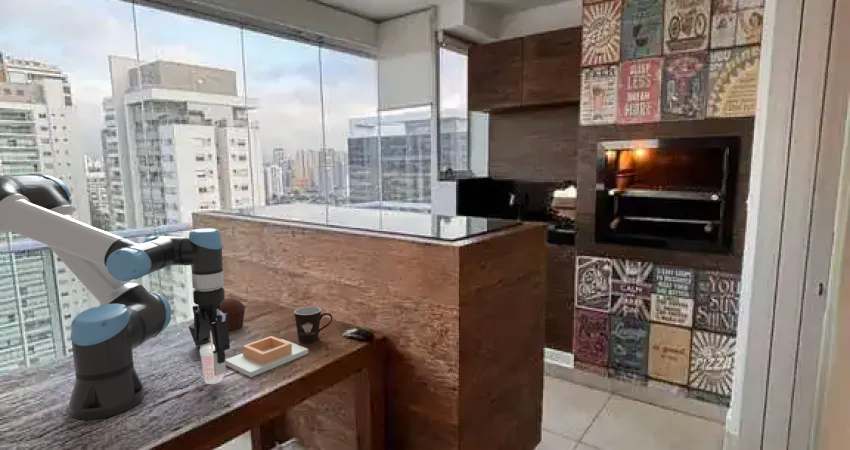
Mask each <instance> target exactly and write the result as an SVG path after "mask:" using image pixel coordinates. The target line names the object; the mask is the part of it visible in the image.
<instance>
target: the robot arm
mask: <svg viewBox="0 0 850 450" xmlns="http://www.w3.org/2000/svg"><path fill="white" fill-rule="evenodd" d="M71 196H72V194H71V191H70V189H69V188H68V186H67V185H66V184H65V183H64V182H63V181H62V180H60V179H59V178H56V177H54V176H51V175H48V174H47V175H46V174H40V173H39V174H37V173H30V174H25V175H0V233H2V234H3V233H4V234H5V233H6V234H7V233H15V234H17V235H20V236H22V237H25V238H28V239H31V240H33V241H36V242H38V243H41V244H44V245H47V246H48V247H49V248H50V250H52V251H53V253H54V254H55V255H56V257H58V258H59V260H61V261H62V263H63V264H64V265H65V266H66V267H67V268H68V269H69V270H70V271H71V273H72V274H73V275H74V276H75V277H76V278H77V279H78V280H79V281H80V282H81V284H82V285H83V287H85V288H86V289H87V291H89V293H90V294H91V295H92V296H93V297H94V298H95V299H96V300H97V301H98V302H99V304H100V305H98V306H95V307H94V306H93V307H90V308H88V309H86V310H83V311H82V312H80V313H78V314H77V315H76V316H75V317H74V318H73V319H72V321H71V324H70V326H71V327H70V331H71V332H70V341H71V345H72V356H73V365H74V373H75V382H74V386H73V389H72V392H71V396H70V398H69V404H68V407H69V408H68V409H69V414H70V416H72V417H73V418H74V419H77V420H99V419H104V418H108V417H112V416H116V415H118V414H119V415H120V414H121V413H123V412H126V411H128V410H131V409H132V408H134V407H135V406H137V405H139V404H140V403H141V402H142V401H143V399H144V398H145V387H144V384H143V382H142V380H141V378H140V376H139V375H138V373H137V370H136V369H135V365H134V354H133V353H134V352H133V350H134V349H136V348H138V347H139V346H141V345H143V344H144V343H146V342H148V341H149V340H151V339H154V338H156V337H157V336H158V335H160V334H161V333H162V332H163V331H164V330H165V329H166V328H167V327H168V326H169V324H170V322H171V320H172V314H173V313H172V306H171V304H170V302H169V300H168V299H167V297H165V296H164V295H163V294H162V293H160V292H154V291H150V292H149V290H147V289H146V288H145V287H144V285H143V284H141V283H133V282H131V281H133V280H134V281H135V280H138V279H141V278H143V277H145V276H147V275H149V274H150V275H151V274H152V273H155V272H157V271H160V270H163V269H165V268H168V267H171V266H190V268H191V284H192V286H191V287H192V288H193V290H192V296H193V297H192V298H193V301H192V302H193V303H194V304H195V305H193V306H192V312H193V323H194V338H195V340H196V341H197V340H198V344H199V345H200V348H199V350H200V349H201V348H203V347H205V346H208V345H211V343H210V342H209V341H211V339H210V338H209V336H210V329H211V333H212V338H213V343H214V347H215V351H213V356H214V373H215V375H216V376H217V375H220V374H222V373H223V374H225V373H226V365H225V359H226V351H227V350H229V349H230V348H231V345H230V344H231V343H230V335H229V334H230V333H229V332H230V331H228V313H222V312H221V311H222V310H221V306H220V303H221V302H222V301H224V299H226V297H225V295H226V294H225V287H224V285H225V284H224V282H225V281H224V275H225V273H224V267H223V246H224V245H223V244H222V243H223V241H222V235H221V234H222V233H221V232H220V230H219V229H217V228H206V227H205V228H196V229H192V230H190V232H189V234H188V236H173V235H172V236H169V235H166V236H165V235H156V236H153V235H152V236H148V237H146V238H145V240H143V242H142V243H136V242H134V241H131V240H129V239H125V238H124V237H122V236H119V235H115V234H112V233H111V232H108V231H105V230H102V229H100V228H97V227H94V226H91V225H89V224H87V223H84V222H81V221H80V220H76V218H74V216H73V215H74V207H73V205H72V198H71ZM215 322H216V323H215ZM198 334H199V335H198ZM207 342H209V343H207ZM200 368H201V369H202V370H203V365H202V358H201V357H200Z"/></svg>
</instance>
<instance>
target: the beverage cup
mask: <svg viewBox="0 0 850 450" xmlns="http://www.w3.org/2000/svg"><path fill="white" fill-rule="evenodd" d="M210 337H211V345H208V346H205V347H203V348H201V349H200V348H199V355H200V359H201V358H202V365H203V369H202V371H203V379H204V384H206V385H215V384H218V383H220V382H222V381H223V380H224V373H222V374H220V375H217V376H216V375H215V373H214V356H213V351H215V347H214V344H213V338H212V333H211V331H210Z"/></svg>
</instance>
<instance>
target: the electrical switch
mask: <svg viewBox="0 0 850 450" xmlns="http://www.w3.org/2000/svg"><path fill="white" fill-rule="evenodd" d="M188 329H189V332H190V335H191V336H192V339H193V342H194V344H195V347H196V348H199V349H200V345H199V344H198V340H197V341H196V340H195V338H194V322H193V323H192V324H191V325H188ZM210 331H211V329H210ZM198 335H199V334H198ZM209 338H210V339H211V337H210V336H209ZM209 342H210V343H211V341H209ZM209 342H207V343H209ZM213 344H214V343H213Z"/></svg>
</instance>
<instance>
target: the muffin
mask: <svg viewBox="0 0 850 450" xmlns="http://www.w3.org/2000/svg"><path fill="white" fill-rule="evenodd" d="M220 306H221V310H222V311H221V312H222V313H228V331H229V332H230V331H234V330H235V331H236V330H239V329H240V328H241V327H243V326H244V325H243V324H244V319H245V318H244V317H245V310H246V308H247V307H246V306H245V305H244V304H243V303H242V302H241V300H239V299H237V298H235V297H234V298H233V297H227V298H226V297H225V299H224V301H222V302H221V303H220ZM214 323H216V322H214Z"/></svg>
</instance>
